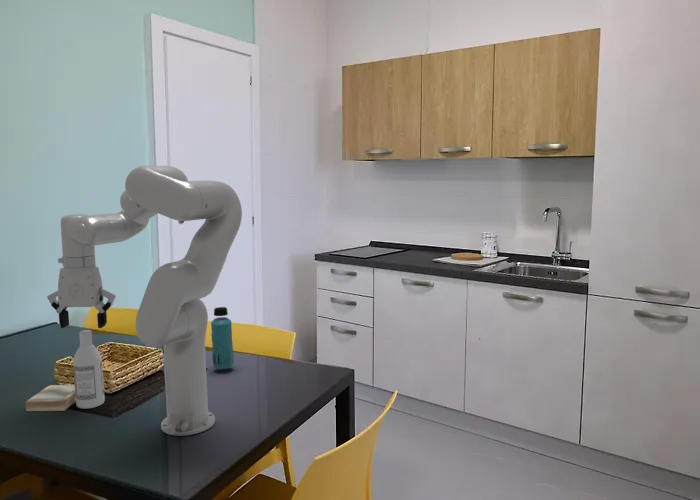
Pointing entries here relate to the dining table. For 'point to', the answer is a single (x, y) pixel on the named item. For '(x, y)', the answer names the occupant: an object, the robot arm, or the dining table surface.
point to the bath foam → (88, 373)
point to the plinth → (52, 398)
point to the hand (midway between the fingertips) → (83, 326)
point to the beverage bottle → (222, 340)
